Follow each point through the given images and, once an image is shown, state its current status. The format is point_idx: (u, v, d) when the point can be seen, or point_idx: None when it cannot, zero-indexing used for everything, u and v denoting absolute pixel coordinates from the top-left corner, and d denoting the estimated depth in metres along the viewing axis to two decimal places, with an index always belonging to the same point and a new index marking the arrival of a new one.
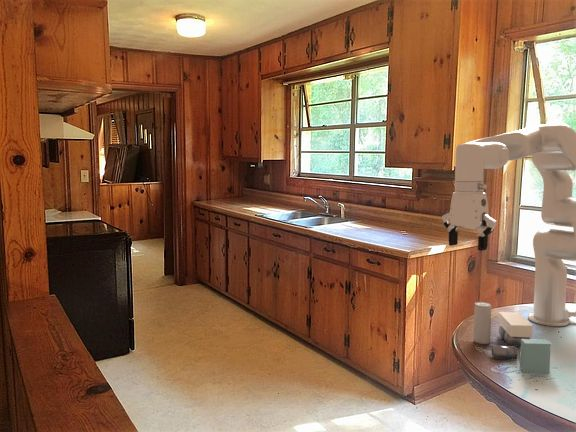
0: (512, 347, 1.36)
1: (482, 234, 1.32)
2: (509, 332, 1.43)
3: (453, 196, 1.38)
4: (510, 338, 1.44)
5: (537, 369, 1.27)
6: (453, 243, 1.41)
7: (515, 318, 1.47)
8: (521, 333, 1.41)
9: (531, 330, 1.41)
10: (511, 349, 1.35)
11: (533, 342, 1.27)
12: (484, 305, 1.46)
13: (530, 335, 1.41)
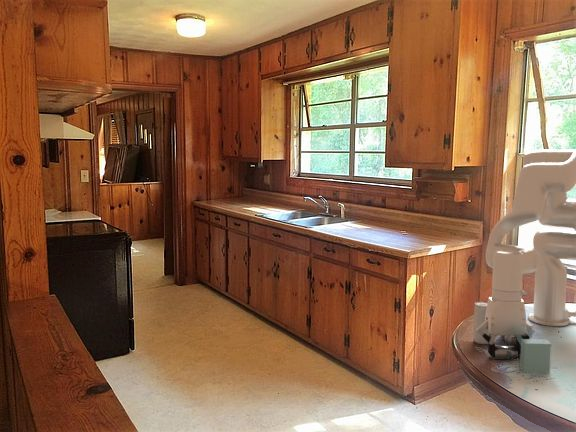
0: (512, 347, 1.35)
1: None
2: None
3: (495, 305, 1.33)
4: (510, 338, 1.44)
5: (537, 369, 1.27)
6: None
7: None
8: None
9: None
10: (511, 350, 1.35)
11: (533, 342, 1.27)
12: (484, 305, 1.46)
13: None
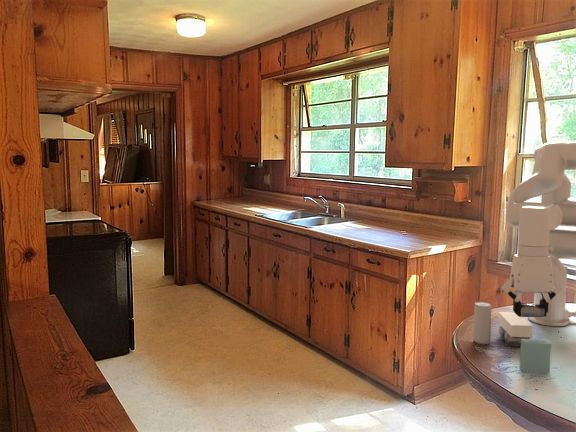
0: (539, 305, 1.33)
1: (548, 300, 1.32)
2: (509, 332, 1.43)
3: (521, 261, 1.31)
4: (510, 338, 1.44)
5: (537, 369, 1.27)
6: None
7: (515, 318, 1.47)
8: (521, 333, 1.41)
9: (531, 330, 1.41)
10: (538, 307, 1.32)
11: (533, 342, 1.27)
12: (484, 305, 1.46)
13: (530, 335, 1.41)
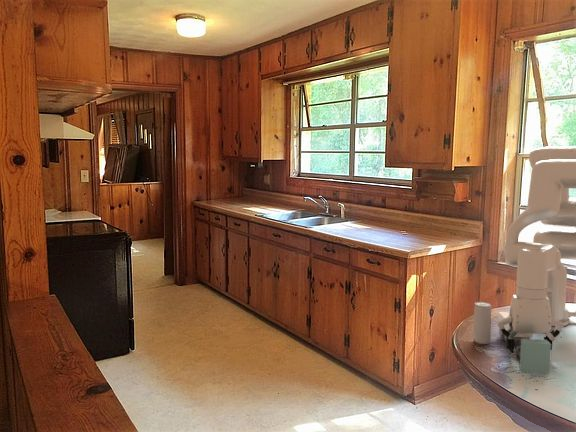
0: None
1: (552, 338, 1.33)
2: None
3: (520, 303, 1.32)
4: None
5: (537, 369, 1.27)
6: None
7: None
8: (521, 333, 1.41)
9: None
10: None
11: (533, 342, 1.27)
12: (484, 305, 1.46)
13: (530, 335, 1.41)
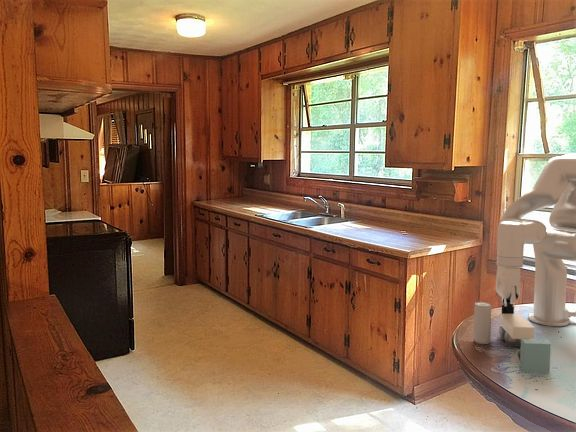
0: None
1: None
2: (511, 334, 1.41)
3: None
4: (510, 338, 1.44)
5: (537, 369, 1.27)
6: None
7: (517, 319, 1.46)
8: (523, 335, 1.40)
9: (533, 332, 1.39)
10: None
11: (533, 342, 1.27)
12: (484, 305, 1.46)
13: (532, 337, 1.39)
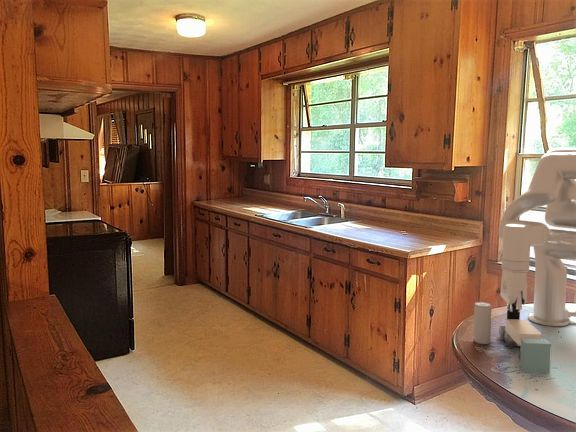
0: None
1: None
2: (517, 341, 1.36)
3: (526, 276, 1.43)
4: (510, 338, 1.44)
5: (537, 369, 1.27)
6: None
7: (523, 325, 1.41)
8: None
9: None
10: None
11: (533, 342, 1.27)
12: (484, 305, 1.46)
13: None
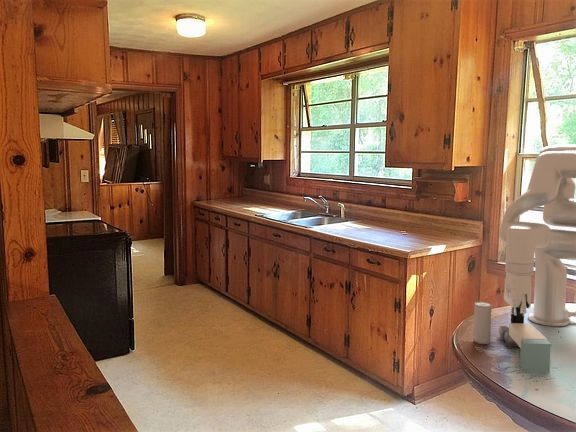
0: None
1: None
2: None
3: None
4: (510, 338, 1.44)
5: (537, 369, 1.27)
6: None
7: (528, 330, 1.37)
8: None
9: None
10: None
11: (533, 342, 1.27)
12: (484, 305, 1.46)
13: None
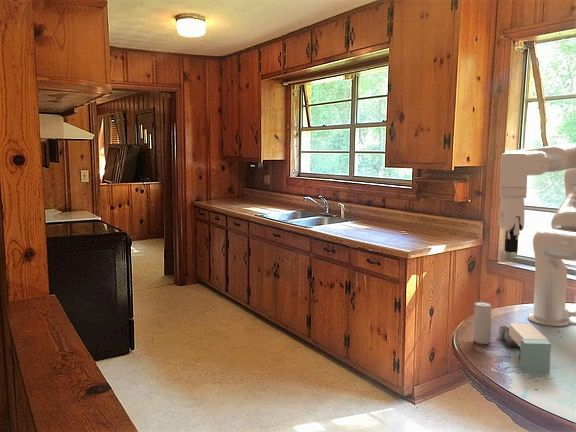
0: None
1: None
2: None
3: (523, 202, 1.45)
4: (510, 338, 1.44)
5: (537, 369, 1.27)
6: None
7: (528, 330, 1.37)
8: None
9: None
10: None
11: (533, 342, 1.27)
12: (484, 305, 1.46)
13: None
